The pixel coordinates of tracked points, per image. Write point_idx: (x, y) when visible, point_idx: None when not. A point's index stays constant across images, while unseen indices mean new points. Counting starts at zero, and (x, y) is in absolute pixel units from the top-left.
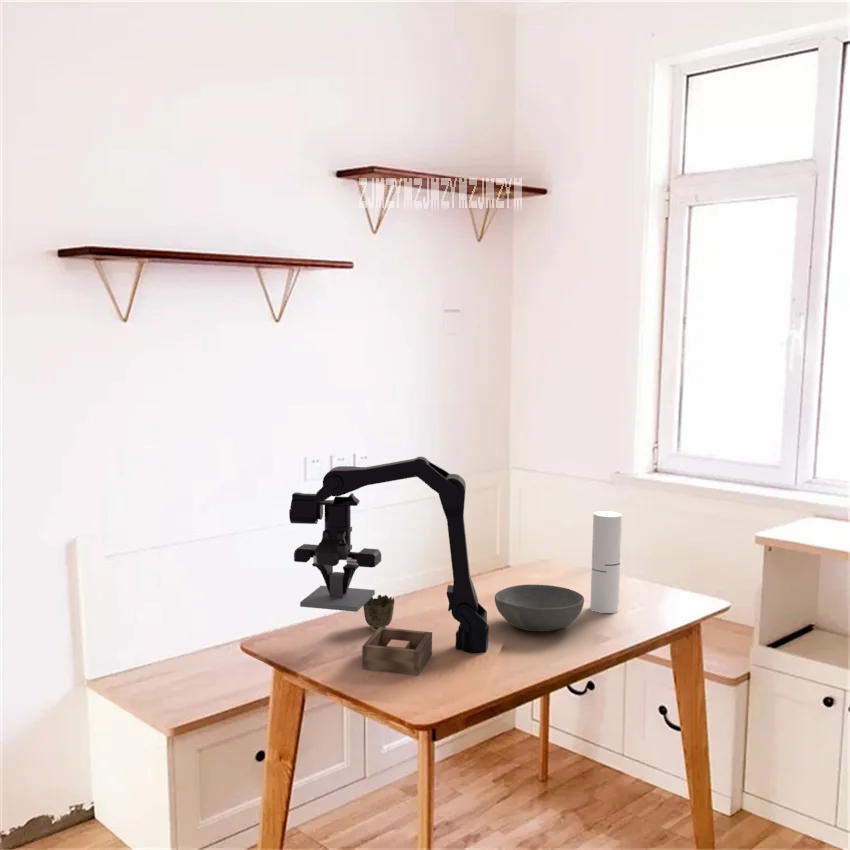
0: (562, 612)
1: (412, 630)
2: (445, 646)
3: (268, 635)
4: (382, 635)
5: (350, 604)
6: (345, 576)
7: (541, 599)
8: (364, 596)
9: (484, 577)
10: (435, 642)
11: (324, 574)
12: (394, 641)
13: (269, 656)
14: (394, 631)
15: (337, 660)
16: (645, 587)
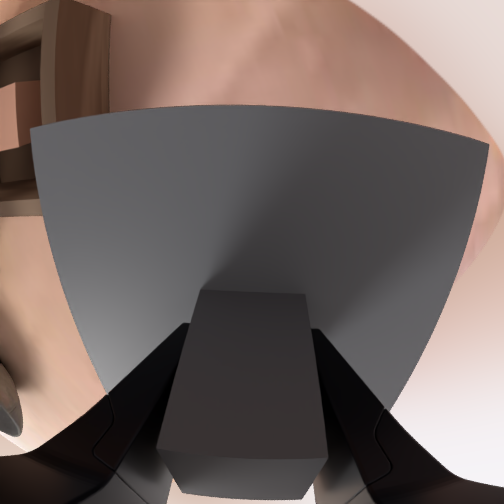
0: None
1: None
2: (18, 271)
3: (474, 252)
4: None
5: (85, 168)
6: (110, 438)
7: (2, 411)
8: (96, 339)
9: None
10: (42, 290)
11: (394, 452)
12: (7, 133)
13: (450, 89)
14: (20, 198)
15: (221, 84)
16: (10, 438)
